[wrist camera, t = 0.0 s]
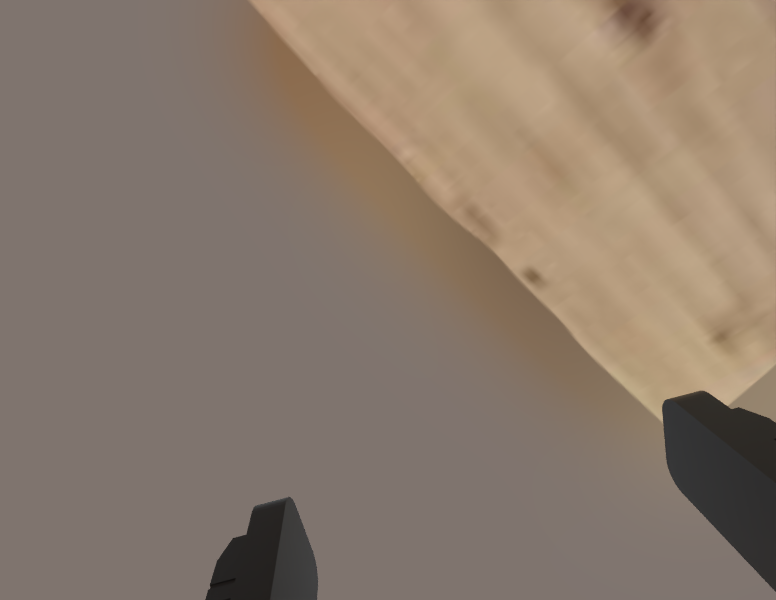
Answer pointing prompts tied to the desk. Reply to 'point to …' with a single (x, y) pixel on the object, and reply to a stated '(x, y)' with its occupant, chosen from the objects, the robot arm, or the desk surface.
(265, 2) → the desk surface
